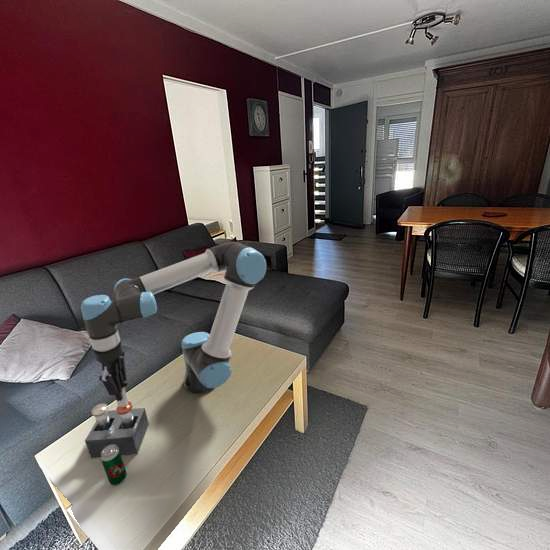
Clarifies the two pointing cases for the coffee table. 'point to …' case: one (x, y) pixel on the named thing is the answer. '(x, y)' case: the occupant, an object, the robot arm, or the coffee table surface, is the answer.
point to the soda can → (113, 464)
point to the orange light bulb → (126, 415)
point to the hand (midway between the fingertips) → (123, 404)
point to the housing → (118, 434)
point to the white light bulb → (101, 416)
